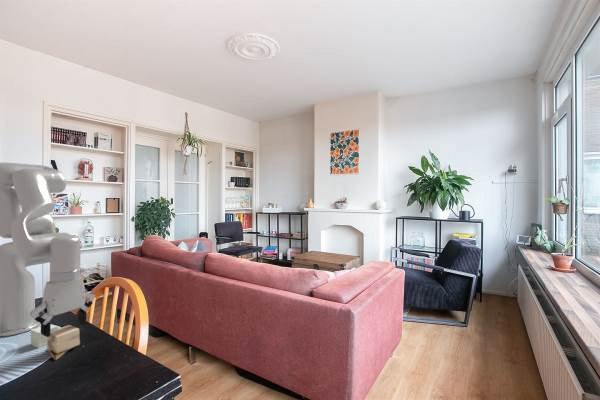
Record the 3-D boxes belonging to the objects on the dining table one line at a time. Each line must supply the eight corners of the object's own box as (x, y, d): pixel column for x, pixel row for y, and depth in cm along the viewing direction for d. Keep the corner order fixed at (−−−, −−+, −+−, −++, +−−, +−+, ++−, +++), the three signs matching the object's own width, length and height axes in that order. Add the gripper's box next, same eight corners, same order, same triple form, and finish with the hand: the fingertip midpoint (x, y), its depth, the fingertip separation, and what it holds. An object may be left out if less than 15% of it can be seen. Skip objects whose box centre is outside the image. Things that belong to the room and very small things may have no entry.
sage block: (30, 345, 95) (30, 329, 95) (49, 338, 100) (49, 323, 100) (38, 348, 93) (38, 332, 93) (57, 341, 98) (57, 326, 98)
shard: (55, 363, 86) (55, 357, 86) (28, 363, 86) (28, 357, 86) (81, 344, 97) (81, 339, 97) (57, 344, 97) (57, 339, 97)
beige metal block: (47, 348, 91) (47, 332, 91) (69, 339, 96) (69, 324, 96) (56, 353, 88) (56, 337, 88) (79, 344, 94) (79, 328, 93)
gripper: (88, 267, 102) (87, 316, 102) (24, 280, 86) (23, 338, 87) (101, 270, 99) (100, 321, 99) (37, 285, 83) (36, 344, 83)
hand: (64, 329), depth 93 cm, fingers open, 9 cm apart
